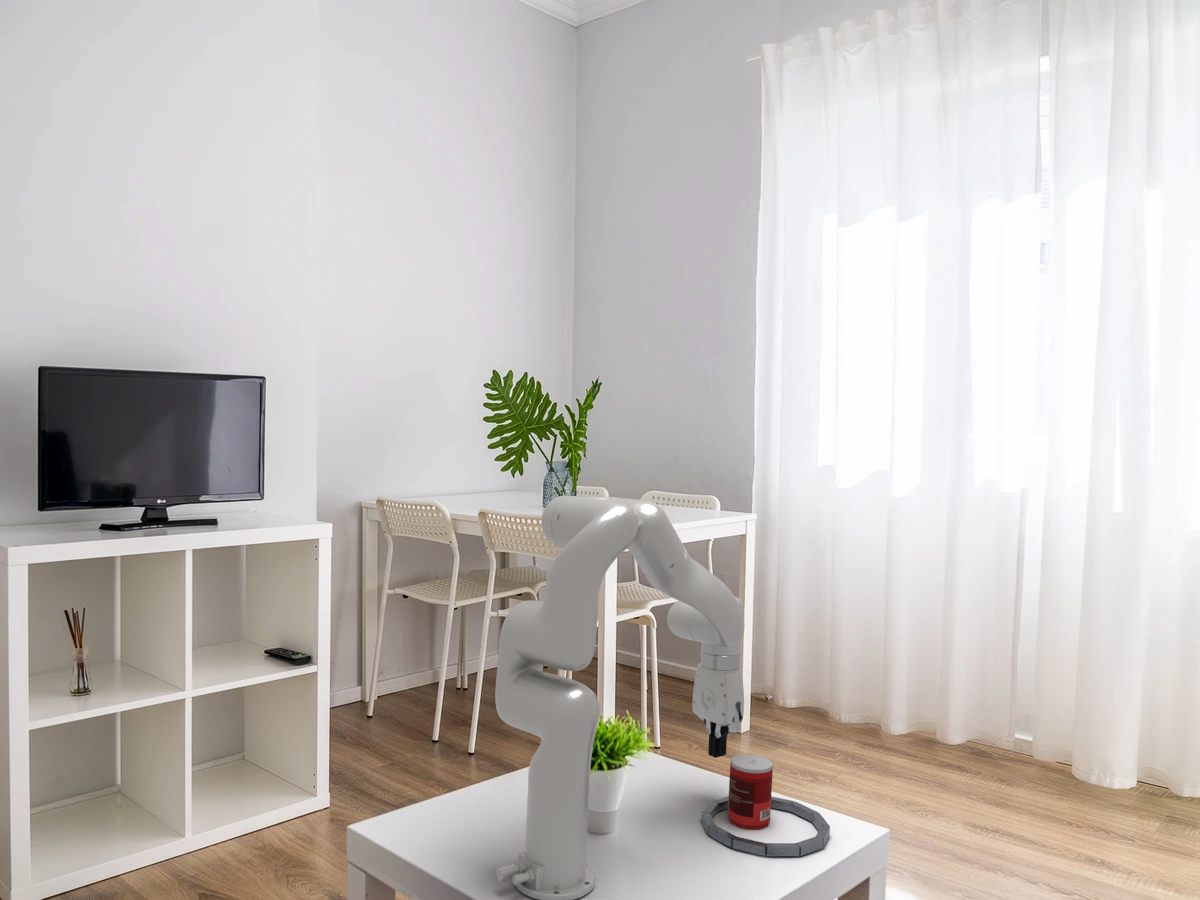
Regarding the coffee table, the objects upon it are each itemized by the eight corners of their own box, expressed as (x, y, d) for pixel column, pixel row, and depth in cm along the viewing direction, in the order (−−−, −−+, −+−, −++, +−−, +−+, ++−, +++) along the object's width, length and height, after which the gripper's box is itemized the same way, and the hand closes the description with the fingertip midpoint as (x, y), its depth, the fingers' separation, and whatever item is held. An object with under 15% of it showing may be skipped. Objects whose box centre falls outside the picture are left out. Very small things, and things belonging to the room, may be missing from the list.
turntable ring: (766, 867, 151) (767, 849, 151) (678, 817, 169) (678, 801, 169) (853, 837, 164) (854, 820, 164) (763, 794, 181) (764, 779, 181)
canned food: (768, 813, 173) (771, 755, 173) (771, 832, 165) (774, 771, 165) (726, 810, 174) (729, 752, 173) (728, 828, 166) (731, 767, 165)
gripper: (680, 654, 180) (676, 746, 181) (733, 673, 168) (730, 772, 169) (708, 649, 185) (705, 739, 186) (763, 667, 173) (759, 764, 173)
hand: (717, 755), depth 177 cm, fingers closed
